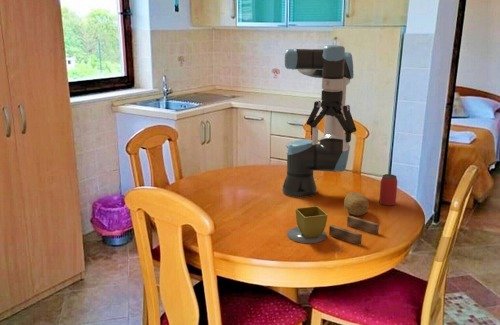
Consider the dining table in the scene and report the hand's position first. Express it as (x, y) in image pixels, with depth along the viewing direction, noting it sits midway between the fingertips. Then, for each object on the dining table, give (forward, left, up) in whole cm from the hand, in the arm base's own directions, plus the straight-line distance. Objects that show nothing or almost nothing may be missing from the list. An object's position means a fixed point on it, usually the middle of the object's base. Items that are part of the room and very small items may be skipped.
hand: (329, 147), depth 183 cm
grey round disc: (+4, -18, -28) cm, 34 cm away
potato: (+6, +12, -29) cm, 32 cm away
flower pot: (+5, -18, -28) cm, 34 cm away
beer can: (+10, +31, -29) cm, 43 cm away
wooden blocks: (+16, -6, -28) cm, 33 cm away
